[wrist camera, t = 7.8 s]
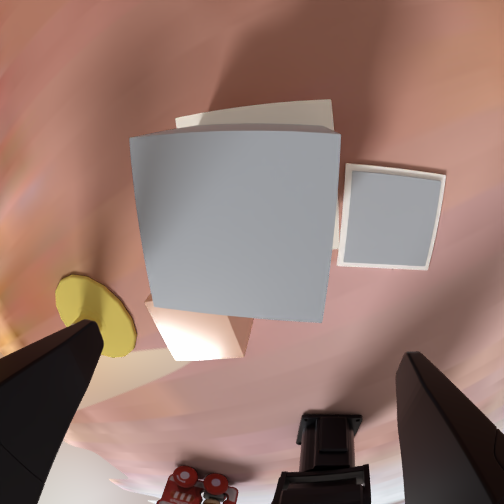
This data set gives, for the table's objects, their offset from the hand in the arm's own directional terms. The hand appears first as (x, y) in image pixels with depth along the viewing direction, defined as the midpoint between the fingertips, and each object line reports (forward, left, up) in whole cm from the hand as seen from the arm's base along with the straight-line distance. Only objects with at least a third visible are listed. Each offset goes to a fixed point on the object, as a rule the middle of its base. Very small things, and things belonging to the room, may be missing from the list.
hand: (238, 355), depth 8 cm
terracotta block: (-6, +5, -13) cm, 15 cm away
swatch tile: (0, -7, -13) cm, 15 cm away
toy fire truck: (-46, +11, -13) cm, 49 cm away
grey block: (+3, +1, -8) cm, 8 cm away
